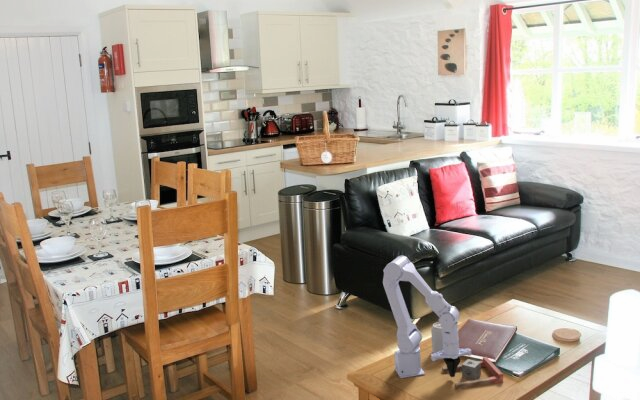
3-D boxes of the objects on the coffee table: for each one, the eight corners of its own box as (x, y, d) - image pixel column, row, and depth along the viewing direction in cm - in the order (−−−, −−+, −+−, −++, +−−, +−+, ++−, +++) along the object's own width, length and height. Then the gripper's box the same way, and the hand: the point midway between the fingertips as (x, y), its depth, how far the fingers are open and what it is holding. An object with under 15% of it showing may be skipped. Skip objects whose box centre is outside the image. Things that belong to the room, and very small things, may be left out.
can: (451, 357, 239) (450, 328, 236) (432, 357, 240) (430, 328, 238) (451, 348, 246) (450, 320, 244) (432, 348, 248) (431, 320, 245)
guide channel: (456, 389, 215) (455, 381, 215) (442, 370, 229) (441, 363, 228) (503, 381, 218) (502, 373, 217) (486, 363, 231) (486, 356, 231)
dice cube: (468, 371, 227) (467, 358, 226) (481, 374, 224) (480, 362, 223) (462, 377, 223) (461, 364, 222) (474, 380, 220) (474, 367, 219)
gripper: (434, 348, 214) (436, 383, 217) (474, 342, 216) (475, 377, 219) (428, 340, 221) (430, 374, 224) (466, 334, 223) (467, 368, 226)
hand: (451, 375), depth 222 cm, fingers closed
